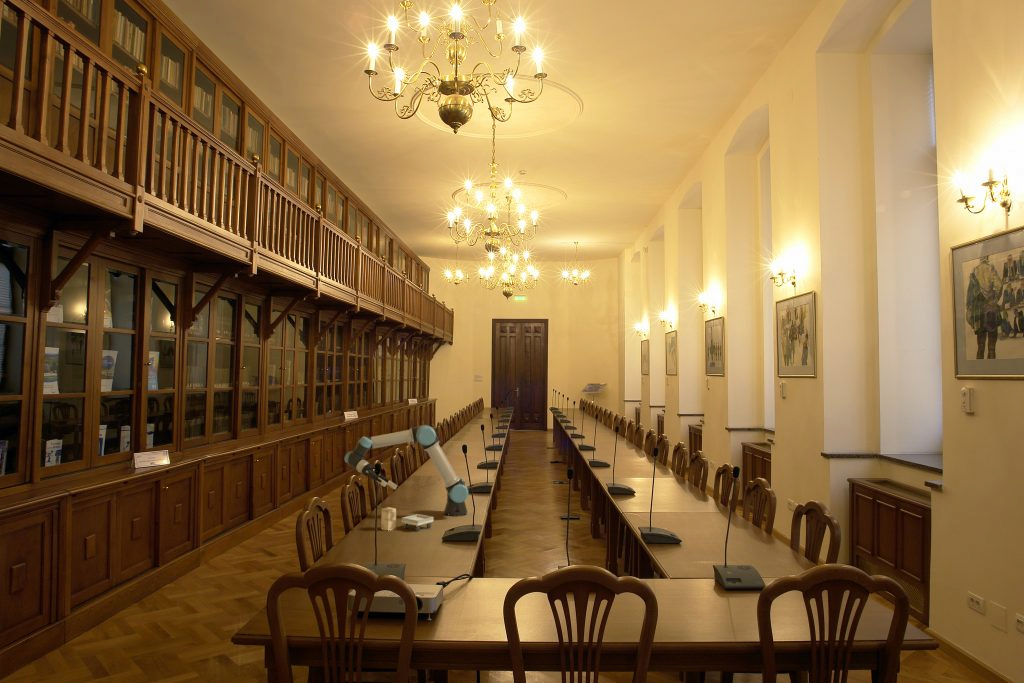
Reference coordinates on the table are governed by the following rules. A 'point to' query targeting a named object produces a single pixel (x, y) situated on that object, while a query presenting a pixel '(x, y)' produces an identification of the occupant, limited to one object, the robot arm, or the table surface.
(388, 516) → the maple block
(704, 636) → the table surface
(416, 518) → the cart
